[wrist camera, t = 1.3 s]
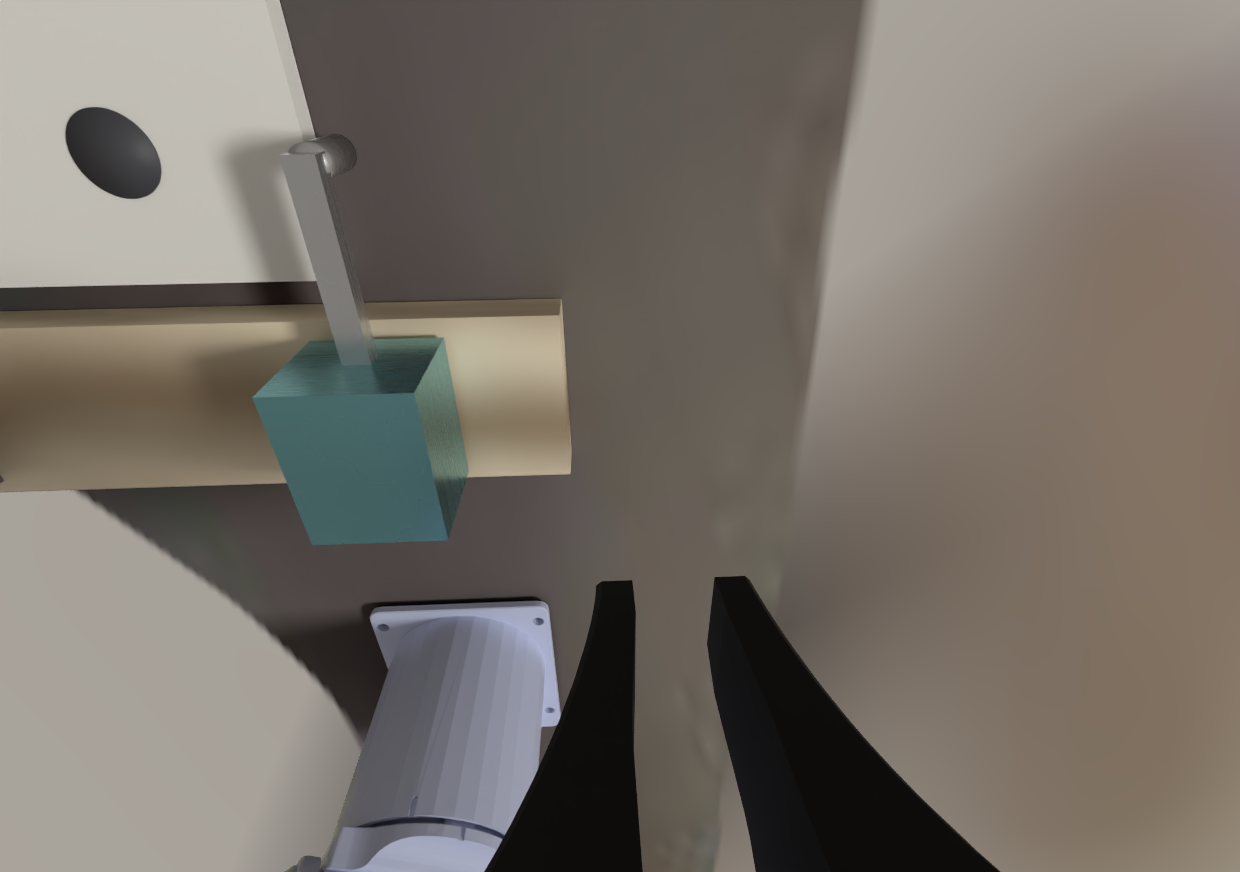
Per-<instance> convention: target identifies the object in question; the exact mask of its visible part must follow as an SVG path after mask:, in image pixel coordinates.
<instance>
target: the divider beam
mask: <svg viewBox="0 0 1240 872" xmlns="http://www.w3.org/2000/svg"><path fill="white" fill-rule="evenodd" d="M365 307H366V311H367V315H368V319H369V323H370V326H371V330H372V334H373V338H374V339H403V338H443V337H444V340H445V346H446V351H447V356H448V362H449V367H450V372H451V378H452V383H453V388H454V394H455V399H456V404H457V410H458V415H459V420H460V426H461V431H462V436H463V442H464V447H465V452H466V458H467V463H468V468H469V472H468V476H467V477H491V476H522V475H553V474H570V471H571V451H572V450H571V435H570V420H569V405H568V390H567V375H566V360H565V344H564V329H563V314H562V299H561V298H557V299H514V300H471V301H427V302H384V303H365ZM323 340H334V338H333V334H332V331H331V328H330V324H329V321H328V318H327V314H326V311H325V308H324V304H297V305H254V306H210V307H167V308H123V309H80V310H37V311H0V492H23V491H54V490H55V491H56V490H87V489H118V488H149V487H180V486H211V485H242V484H273V483H287V482H286V480H285V477H284V475H283V472H282V470H281V467H280V465H279V462H278V460H277V457H276V455H275V453H274V450H273V448H272V445H271V443H270V440H269V438H268V435H267V433H266V430H265V428H264V425H263V423H262V421H261V418H260V416H259V413H258V411H257V408H256V406H255V403H254V401H253V398H252V397H253V396H254V395H255V394H256V393H257V392H258V391H259V390H260V389H261V388H262V387H263V386H264V385H265V384H266V383H267V382H268V381H269V380H270V379H271V378H272V377H273V376H274V375H276V374H277V373H278V372H279V371H280V370H281V369H282V368H283V367H284V366H285V365H286V364H287V363H288V362H289V361H290V360H291V359H292V358H293V357H294V356H295V355H296V354H297V353H298V352H299V351H300V350H301V349H302V348H303V347H304V346H305V345H306V344H307V343H308V342H309V341H323Z"/></svg>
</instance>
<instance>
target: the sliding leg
mask: <svg viewBox="0 0 1240 872" xmlns="http://www.w3.org/2000/svg"><path fill="white" fill-rule="evenodd" d="M279 158H280V161H281V164H282V168H283V171H284V174H285V178H286V181H287V184H288V188H289V191H290V194H291V198H292V201H293V204H294V208H295V211H296V214H297V218H298V221H299V224H300V228H301V231H302V234H303V238H304V241H305V244H306V248H307V251H308V254H309V258H310V261H311V264H312V268H313V271H314V274H315V278H316V281H317V284H318V288H319V291H320V294H321V298H322V301H323V304H324V308H325V311H326V314H327V318H328V321H329V324H330V328H331V331H332V334H333V338H334V340H323V341H309V342H308V343H307V344H306V345H305V346H304V347H303V348H302V349H301V350H300V351H299V352H298V353H297V354H296V355H295V356H294V357H293V358H292V359H291V360H290V361H289V362H288V363H287V364H286V365H285V366H284V367H283V368H282V369H281V370H280V371H279V372H278V373H277V374H276V375H274V376H273V377H272V378H271V379H270V380H269V381H268V382H267V383H266V384H265V385H264V386H263V387H262V388H261V389H260V390H259V391H258V392H257V393H256V394H255V395H254V396H253V397H252V398H253V401H254V403H255V406H256V408H257V411H258V413H259V416H260V418H261V421H262V423H263V425H264V428H265V430H266V433H267V435H268V438H269V440H270V443H271V445H272V448H273V450H274V453H275V455H276V457H277V460H278V462H279V465H280V467H281V470H282V472H283V475H284V477H285V480H286V482H287V485H288V487H289V489H290V492H291V494H292V497H293V499H294V502H295V504H296V507H297V509H298V512H299V514H300V516H301V519H302V521H303V524H304V526H305V529H306V531H307V534H308V536H309V539H310V541H311V544H312V545H331V544H359V543H387V542H416V541H444V540H448V539H449V536H450V532H451V529H452V526H453V522H454V519H455V516H456V512H457V509H458V506H459V502H460V499H461V496H462V492H463V489H464V486H465V482H466V479H467V476H468V472H469V468H468V463H467V458H466V452H465V447H464V442H463V436H462V431H461V426H460V420H459V415H458V410H457V404H456V399H455V394H454V388H453V383H452V378H451V372H450V367H449V362H448V356H447V351H446V346H445V340H444V337H443V338H403V339H374V338H373V334H372V330H371V326H370V323H369V319H368V315H367V311H366V307H365V303H364V299H363V296H362V292H361V288H360V284H359V280H358V276H357V272H356V269H355V265H354V261H353V257H352V253H351V249H350V245H349V242H348V238H347V234H346V230H345V226H344V222H343V218H342V215H341V211H340V207H339V203H338V199H337V195H336V191H335V188H334V184H333V180H332V178H333V177H335V176H338V175H340V174H342V173H344V172H347V171H349V170H351V169H352V168H353V167H354V166H355V164H356V160H357V155H356V150H355V148H354V146H353V145H352V143H351V142H350V141H349V140H348V139H347V138H346V137H344V136H342V135H339V134H330V135H326V136H322V137H319V138H315V139H311V140H308V141H304V142H300V143H297V144H294V145H293V146H292V147H291V148H290V149H289V151H288V152H287V153H284V154H280V155H279Z"/></svg>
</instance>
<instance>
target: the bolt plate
mask: <svg viewBox="0 0 1240 872" xmlns="http://www.w3.org/2000/svg"><path fill="white" fill-rule="evenodd" d="M315 138H316V137H315V133H314V129H313V126H312V122H311V118H310V114H309V110H308V107H307V103H306V99H305V95H304V92H303V88H302V84H301V80H300V76H299V73H298V69H297V65H296V61H295V57H294V54H293V50H292V46H291V42H290V39H289V35H288V31H287V27H286V23H285V20H284V16H283V12H282V8H281V4H280V1H279V0H0V288H13V287H59V286H105V285H151V284H196V283H242V282H288V281H316V278H315V274H314V271H313V268H312V264H311V261H310V258H309V254H308V251H307V248H306V244H305V241H304V238H303V234H302V231H301V228H300V224H299V221H298V218H297V214H296V211H295V208H294V204H293V201H292V198H291V194H290V191H289V188H288V184H287V181H286V178H285V174H284V171H283V168H282V164H281V161H280V158H279V155H280V154H284V153H287V152H288V151H289V149H290V148H291V147H292V146H293V145H294V144H297V143H300V142H304V141H308V140H311V139H315Z"/></svg>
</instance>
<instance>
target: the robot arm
mask: <svg viewBox="0 0 1240 872" xmlns="http://www.w3.org/2000/svg"><path fill="white" fill-rule="evenodd" d="M539 618H540V619H539ZM635 620H636V612H635V602H634V592H633V583H632V580H629V581H602V582H601V583H599V584H598V585H597V586H596V597H595V604H594V610H593V615H592V620H591V625H590V628H589V632H588V636H587V640H586V644H585V647H584V651H583V654H582V657H581V660H580V663H579V667H578V670H577V673H576V676H575V679H574V682H573V685H572V688H571V690H570V693H569V696H568V698H567V701H566V704H565V706H564V709H563V711H562V714H561V712H560V703H559V694H558V685H557V677H556V668H555V659H554V650H553V641H552V632H551V623H550V614H549V607H548V605H547V604H546V603H545V602H542V601H515V602H489V603H463V604H437V605H411V606H385V607H377V608H375V609H373V611H372V613H371V615H370V622H371V624H372V627H373V630H374V633H375V635H376V638H377V641H378V643H379V646H380V649H381V652H382V654H383V657H384V660H385V662H386V665H387V668H388V673H387V676H386V679H385V682H384V685H383V688H382V691H381V694H380V697H379V700H378V703H377V706H376V709H375V712H374V715H373V718H372V721H371V724H370V727H369V730H368V733H367V736H366V739H365V742H364V745H363V748H362V751H361V754H360V757H359V760H358V763H357V766H356V769H355V772H354V775H353V778H352V781H351V784H350V787H349V790H348V794H347V796H346V799H345V802H344V805H343V808H342V811H341V814H340V817H339V820H338V823H337V826H336V829H335V833H334V835H333V838H332V841H331V844H330V845H329V847H328V849H327V851H326V853H325V855H324V857H323V859H322V860H321V858H320V857H314V856H304V857H302V858H301V859H300V860H299V862H298V864H297V865H294V866H292V867H291V868H290V869H288V870H287V871H285V872H642V859H641V846H640V832H639V819H638V805H637V792H636V777H635V763H634V712H635ZM707 646H708V653H709V660H710V667H711V674H712V680H713V687H714V693H715V698H716V702H717V706H718V710H719V714H720V718H721V722H722V726H723V730H724V734H725V738H726V742H727V745H728V749H729V753H730V757H731V761H732V765H733V769H734V773H735V777H736V781H737V785H738V788H739V792H740V796H741V800H742V804H743V808H744V812H745V817H746V821H747V826H748V830H749V835H750V840H751V846H752V852H753V858H754V864H755V870H756V872H1000V871H999V870H998V869H997V868H995V867H994V866H993V865H992V864H991V863H990V862H989V861H988V860H986V859H985V858H984V857H983V856H982V855H981V854H980V853H978V852H977V851H976V850H975V849H974V848H973V847H972V846H971V845H970V844H969V843H968V842H967V841H966V840H965V839H963V837H961V835H959V834H958V833H957V832H956V831H955V830H954V829H953V828H952V827H951V826H950V825H949V824H948V823H947V822H946V821H945V820H944V819H942V817H941V816H939V815H938V814H937V813H936V812H935V811H934V810H933V809H932V808H931V807H930V806H929V805H928V804H927V803H926V802H925V801H924V800H923V799H922V798H921V797H920V796H919V795H918V794H917V793H916V792H915V791H914V790H913V789H912V788H911V787H910V786H909V785H908V784H907V783H906V782H905V781H904V780H903V779H902V778H901V777H900V776H899V775H898V774H897V773H896V772H895V771H894V770H893V769H892V768H891V766H889V764H888V763H887V762H886V761H885V760H884V759H883V758H882V757H881V756H880V755H879V754H878V752H877V751H876V750H875V749H874V748H873V747H872V746H871V745H870V744H869V743H868V741H867V740H866V739H865V738H864V737H863V736H862V734H861V733H860V732H859V731H858V730H857V729H856V728H855V726H854V725H853V724H852V723H851V722H850V721H849V719H848V718H847V717H846V716H845V715H844V713H843V712H842V711H841V710H840V708H839V707H838V706H837V705H836V703H835V702H834V701H833V700H832V699H831V697H830V696H829V695H828V694H827V692H826V691H825V690H824V688H823V687H822V686H821V685H820V683H819V682H818V681H817V679H816V678H815V677H814V676H813V674H812V673H811V671H810V670H809V669H808V667H807V666H806V665H805V663H804V662H803V661H802V659H801V658H800V656H799V655H798V654H797V652H796V651H795V650H794V648H793V647H792V645H791V644H790V643H789V641H788V640H787V638H786V637H785V635H784V634H783V632H782V631H781V630H780V628H779V626H778V625H777V623H776V622H775V620H774V619H773V617H772V616H771V614H770V613H769V611H768V610H767V608H766V607H765V605H764V603H763V602H762V600H761V598H760V597H759V595H758V594H757V592H756V590H755V589H754V587H753V585H752V583H751V582H750V580H749V579H748V578H747V577H745V576H735V577H715V579H714V588H713V597H712V605H711V614H710V623H709V632H708V641H707ZM555 725H557V727H556V729H555V732H554V734H553V736H552V739H551V741H550V744H549V746H548V748H547V750H546V753H545V755H544V757H543V759H542V761H541V764H540V766H539V768H538V764H539V751H540V737H541V727H544V726H555Z"/></svg>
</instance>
